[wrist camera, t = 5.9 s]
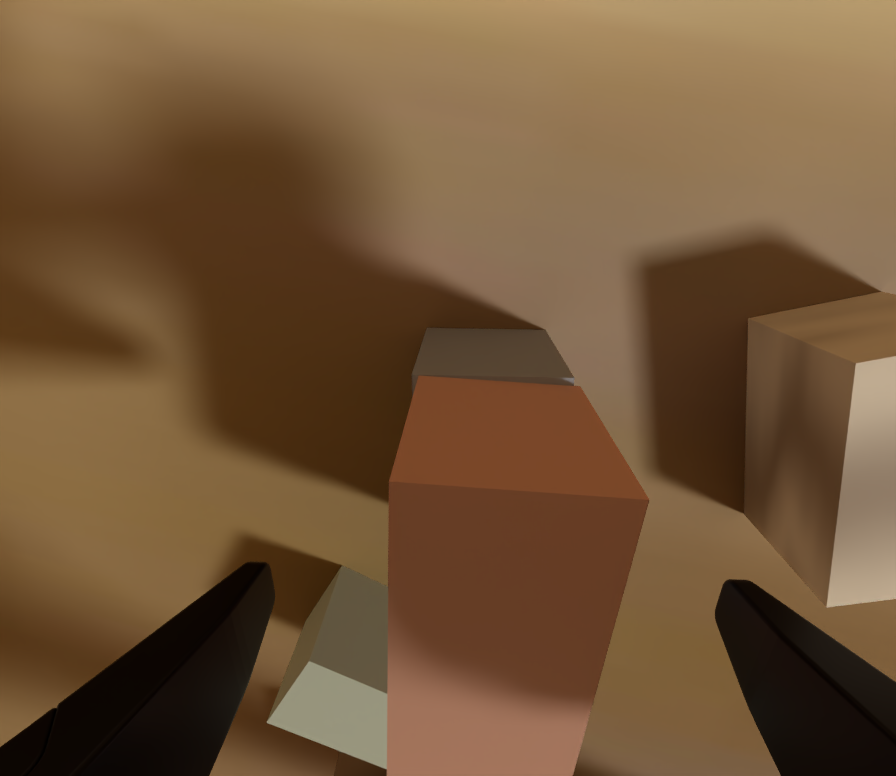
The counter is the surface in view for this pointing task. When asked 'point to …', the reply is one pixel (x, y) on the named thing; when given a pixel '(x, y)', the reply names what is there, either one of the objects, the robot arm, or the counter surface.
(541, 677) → the terracotta block
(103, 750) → the robot arm
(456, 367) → the slate block
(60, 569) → the counter surface
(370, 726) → the sage block
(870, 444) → the birch block
